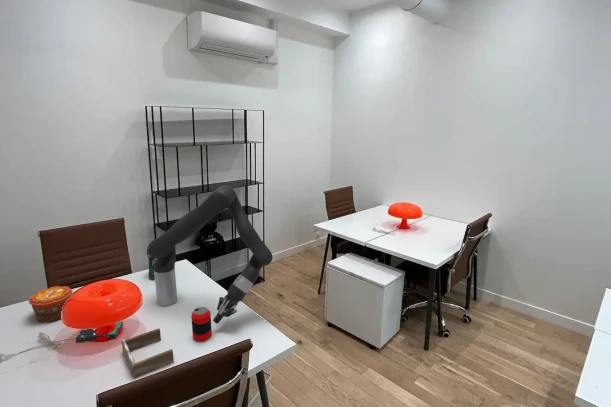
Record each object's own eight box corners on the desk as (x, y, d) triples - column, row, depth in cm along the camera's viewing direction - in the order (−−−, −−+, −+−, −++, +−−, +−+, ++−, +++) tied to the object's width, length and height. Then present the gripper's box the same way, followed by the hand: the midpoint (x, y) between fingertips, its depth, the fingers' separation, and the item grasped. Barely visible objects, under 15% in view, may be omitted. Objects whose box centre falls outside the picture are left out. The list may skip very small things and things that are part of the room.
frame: (123, 352, 134) (121, 339, 132) (160, 338, 142) (158, 326, 141) (133, 378, 121) (131, 365, 119) (173, 362, 129) (172, 349, 127)
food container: (35, 311, 161) (31, 290, 158) (76, 302, 169) (73, 282, 166) (29, 329, 147) (24, 306, 145) (74, 318, 155) (70, 297, 152)
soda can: (199, 329, 149) (197, 304, 146) (215, 332, 146) (213, 307, 144) (189, 340, 142) (187, 314, 139) (205, 343, 139) (203, 317, 137)
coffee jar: (148, 281, 190) (145, 249, 186) (149, 275, 198) (145, 244, 193) (167, 278, 194) (164, 247, 190) (167, 272, 201) (164, 242, 197)
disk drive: (76, 344, 139) (116, 339, 142) (75, 338, 138) (115, 333, 141) (86, 329, 149) (123, 325, 152) (84, 323, 148) (122, 319, 151)
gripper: (227, 278, 154) (202, 311, 149) (241, 289, 144) (215, 326, 139) (238, 285, 158) (214, 318, 154) (253, 297, 148) (228, 333, 144)
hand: (215, 322), depth 147 cm, fingers closed
